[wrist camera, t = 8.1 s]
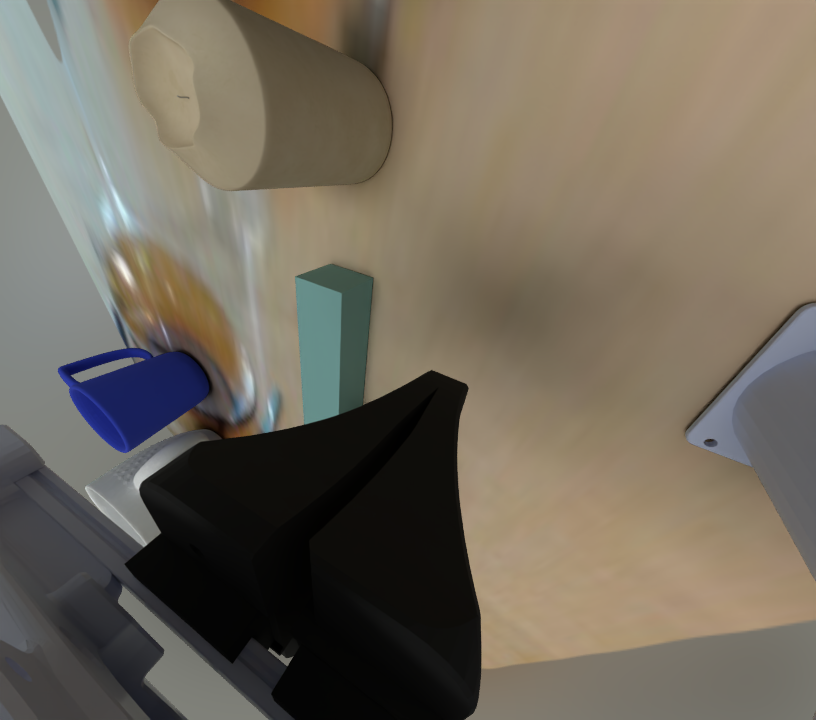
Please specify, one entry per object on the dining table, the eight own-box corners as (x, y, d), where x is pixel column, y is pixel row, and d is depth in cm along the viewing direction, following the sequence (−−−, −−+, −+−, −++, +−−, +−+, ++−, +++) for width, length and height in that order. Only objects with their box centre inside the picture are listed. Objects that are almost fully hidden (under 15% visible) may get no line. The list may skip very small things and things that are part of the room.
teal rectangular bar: (373, 277, 21) (341, 293, 19) (356, 476, 34) (336, 502, 31) (330, 263, 22) (295, 276, 20) (330, 461, 35) (308, 485, 32)
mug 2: (193, 386, 42) (66, 455, 31) (256, 441, 41) (145, 530, 31) (191, 440, 51) (92, 506, 41) (242, 485, 50) (154, 564, 40)
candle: (412, 106, 16) (242, 45, 8) (364, 204, 19) (214, 227, 12) (331, 32, 16) (86, -99, 8) (298, 143, 19) (105, 125, 12)
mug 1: (144, 312, 38) (30, 348, 30) (218, 369, 37) (118, 422, 29) (152, 359, 43) (57, 400, 36) (217, 411, 42) (133, 466, 34)
